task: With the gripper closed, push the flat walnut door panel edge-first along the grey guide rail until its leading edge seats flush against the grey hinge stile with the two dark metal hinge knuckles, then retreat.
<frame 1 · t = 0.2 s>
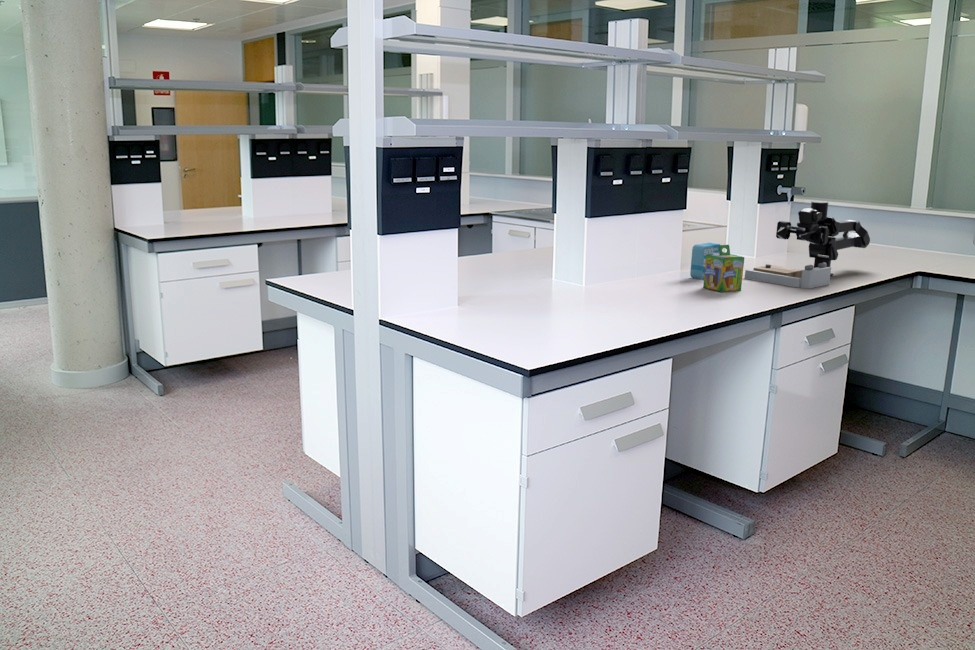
hand: (789, 235, 277), 17 cm above the lab bench, tool horizontal, fingers open, 9 cm apart
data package: (704, 277, 287), on the lab bench
door panel: (776, 280, 287), on the lab bench
guide rail: (772, 282, 279), on the lab bench
chalk box: (722, 289, 265), on the lab bench
hinge stile: (814, 285, 275), on the lab bench
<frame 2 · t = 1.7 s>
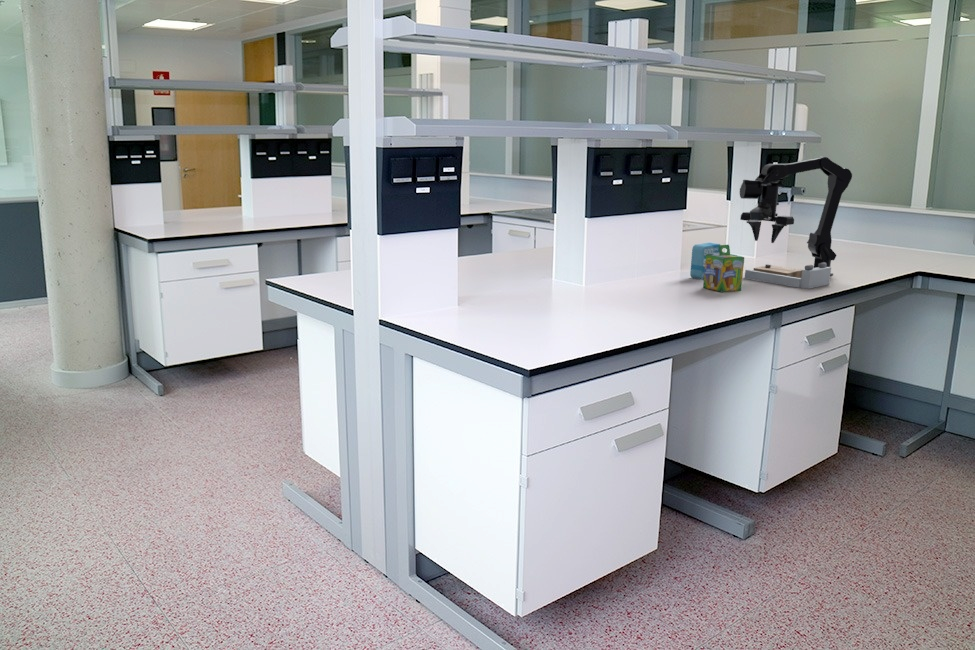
hand: (764, 241, 293), 12 cm above the lab bench, tool pointing down, fingers open, 6 cm apart
nothing on the lab bench moved.
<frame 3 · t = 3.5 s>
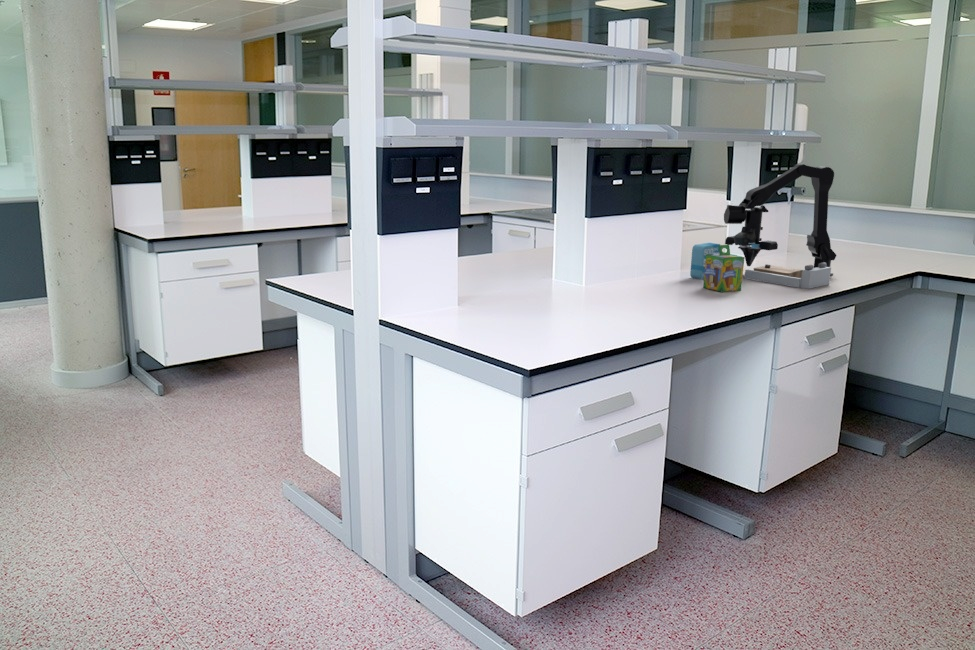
hand: (748, 266, 295), 3 cm above the lab bench, tool pointing down, fingers closed
nothing on the lab bench moved.
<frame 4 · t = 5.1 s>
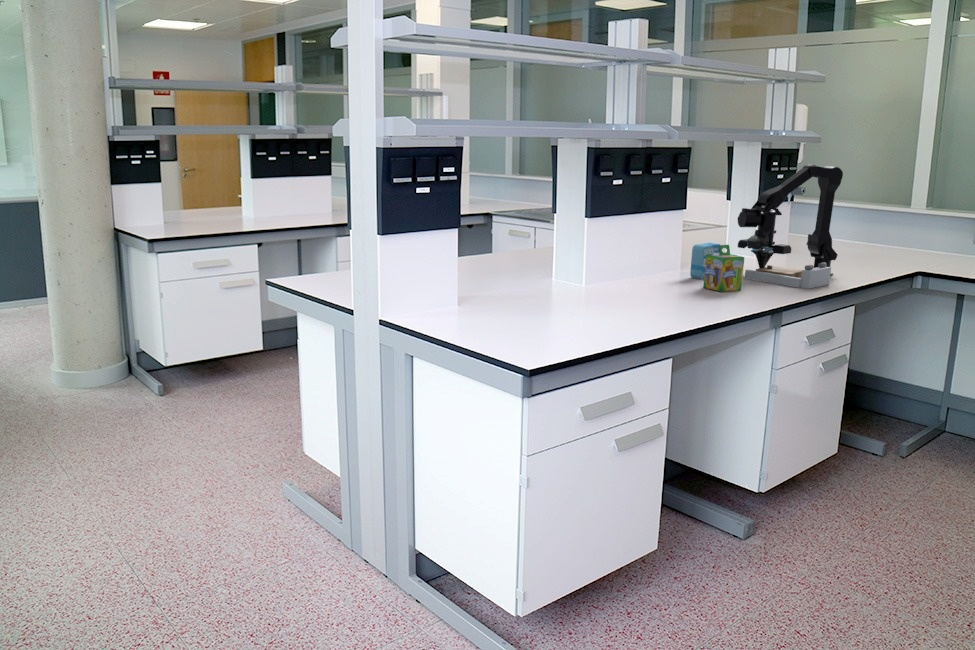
hand: (761, 269, 291), 2 cm above the lab bench, tool pointing down, fingers closed
door panel: (778, 280, 286), on the lab bench, touching gripper
everything else where it was.
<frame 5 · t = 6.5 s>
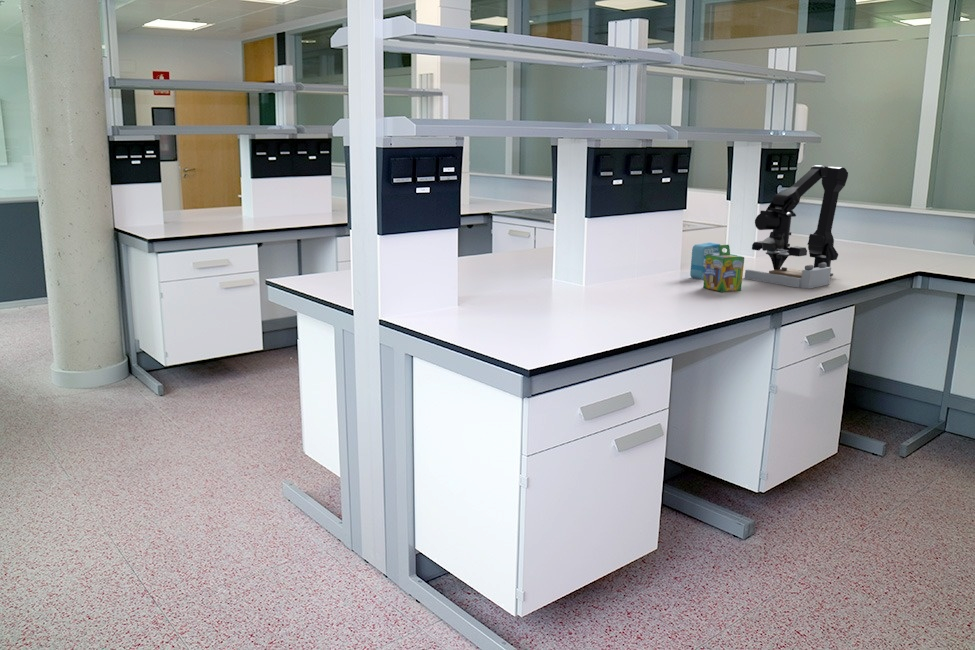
hand: (776, 272, 286), 2 cm above the lab bench, tool pointing down, fingers closed
door panel: (793, 283, 281), on the lab bench, touching hinge stile
everything else where it was.
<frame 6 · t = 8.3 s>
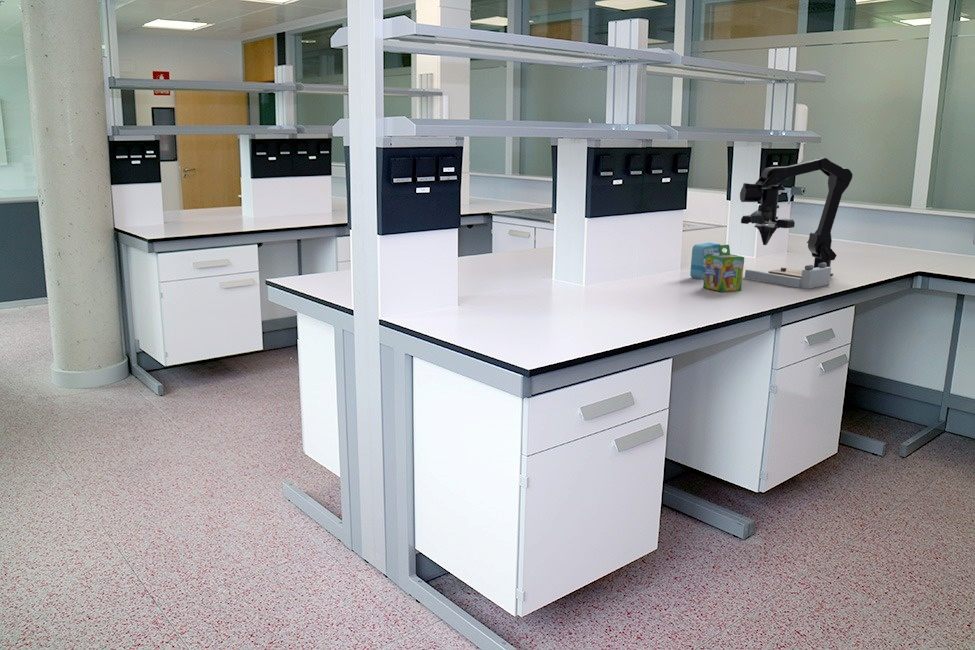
hand: (764, 245, 293), 11 cm above the lab bench, tool pointing down, fingers closed
door panel: (792, 283, 281), on the lab bench
everything else where it was.
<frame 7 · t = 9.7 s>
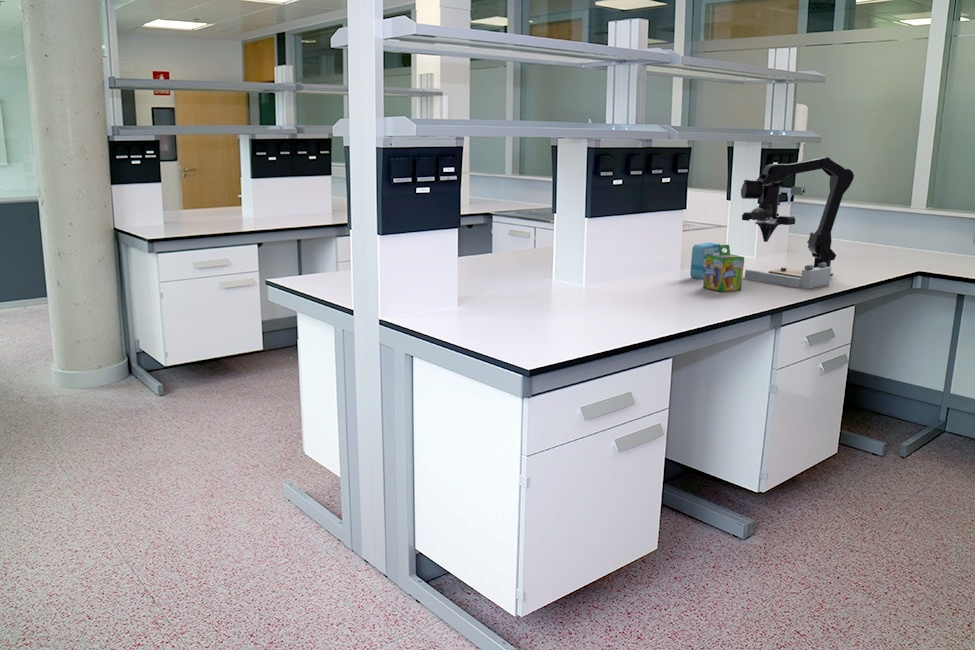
hand: (765, 241, 294), 12 cm above the lab bench, tool pointing down, fingers closed
nothing on the lab bench moved.
at the end: door panel inside the target area (1.5 cm from its centre), on the lab bench; door panel tilted 0° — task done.
